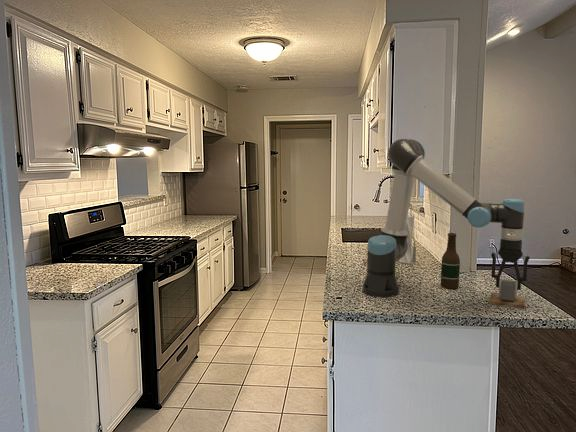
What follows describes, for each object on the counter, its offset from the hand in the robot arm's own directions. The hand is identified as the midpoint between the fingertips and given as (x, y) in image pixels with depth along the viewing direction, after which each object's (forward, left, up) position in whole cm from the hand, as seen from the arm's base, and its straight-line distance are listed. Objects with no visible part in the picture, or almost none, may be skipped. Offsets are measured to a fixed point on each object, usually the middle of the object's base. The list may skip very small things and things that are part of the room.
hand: (507, 296), depth 173 cm
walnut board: (0, 0, -2) cm, 2 cm away
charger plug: (0, 0, 0) cm, 0 cm away
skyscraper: (-50, +45, -2) cm, 67 cm away
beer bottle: (-23, +10, -2) cm, 25 cm away
